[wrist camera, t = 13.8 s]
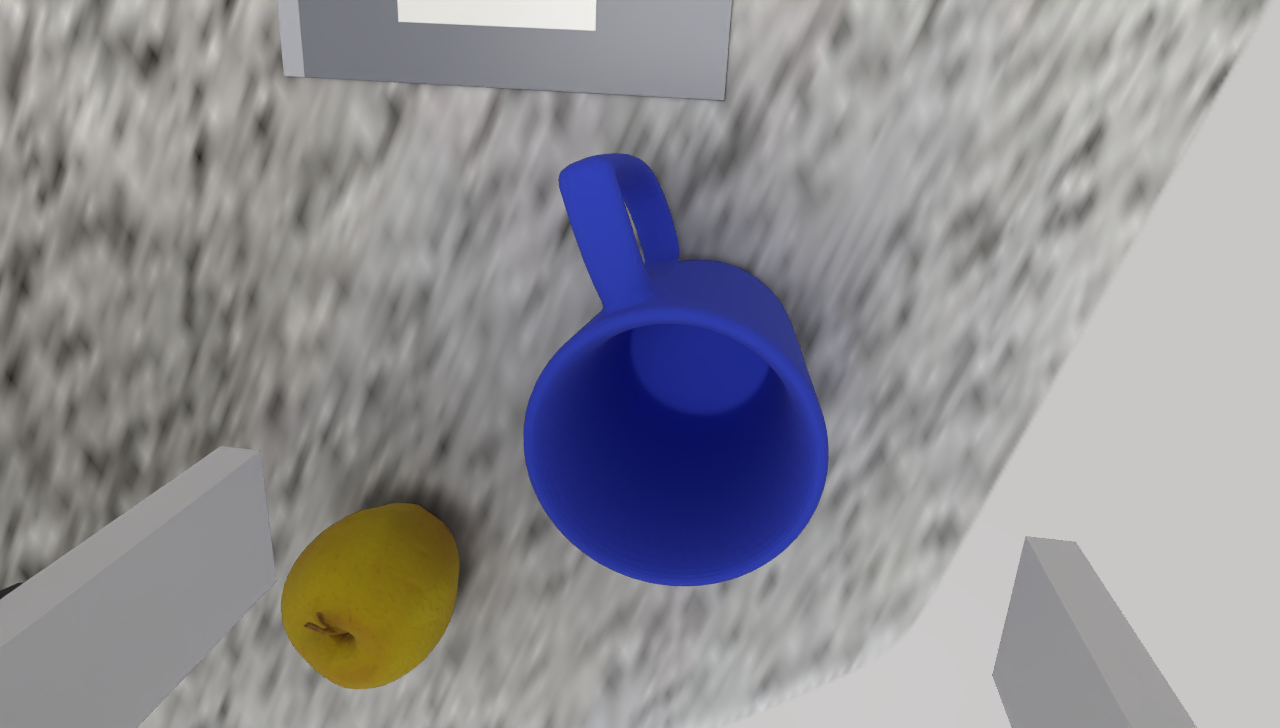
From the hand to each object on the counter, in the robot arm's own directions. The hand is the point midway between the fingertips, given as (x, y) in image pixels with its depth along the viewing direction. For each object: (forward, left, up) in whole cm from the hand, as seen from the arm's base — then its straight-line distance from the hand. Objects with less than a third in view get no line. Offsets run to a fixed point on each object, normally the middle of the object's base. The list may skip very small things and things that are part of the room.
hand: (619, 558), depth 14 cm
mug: (-1, 0, -18) cm, 18 cm away
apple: (-12, -12, -18) cm, 25 cm away
